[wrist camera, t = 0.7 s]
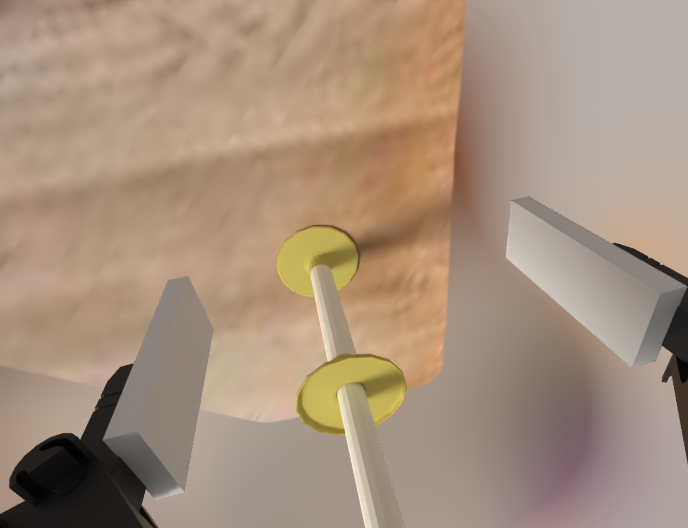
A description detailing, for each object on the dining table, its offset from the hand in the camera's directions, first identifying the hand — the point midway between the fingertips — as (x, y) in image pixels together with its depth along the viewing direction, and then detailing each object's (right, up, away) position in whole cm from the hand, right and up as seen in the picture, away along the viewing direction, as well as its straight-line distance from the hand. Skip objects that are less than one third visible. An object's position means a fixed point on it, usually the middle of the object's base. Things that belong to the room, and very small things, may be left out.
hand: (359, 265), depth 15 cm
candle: (-4, 0, +30) cm, 30 cm away
